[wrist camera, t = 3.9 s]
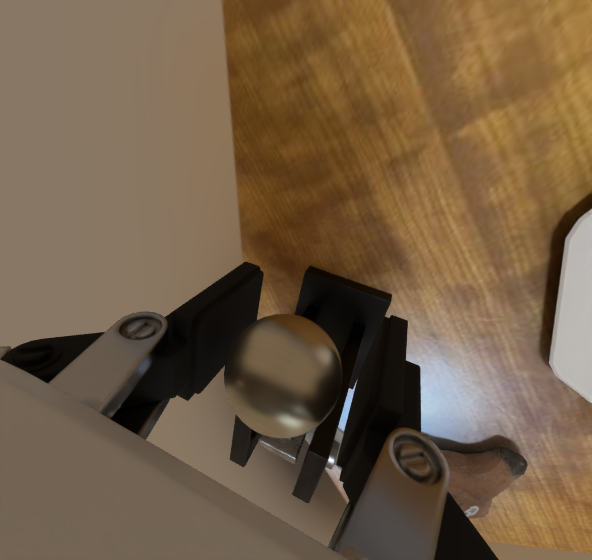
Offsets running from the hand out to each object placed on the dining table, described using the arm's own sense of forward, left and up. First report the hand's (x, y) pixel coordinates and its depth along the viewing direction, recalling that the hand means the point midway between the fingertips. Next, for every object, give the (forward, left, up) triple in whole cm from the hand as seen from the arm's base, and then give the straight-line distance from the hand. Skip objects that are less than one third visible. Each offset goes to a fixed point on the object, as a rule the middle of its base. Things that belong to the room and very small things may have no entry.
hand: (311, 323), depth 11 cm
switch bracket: (+8, -3, -13) cm, 16 cm away
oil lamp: (+22, +8, -13) cm, 26 cm away
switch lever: (+3, -1, -1) cm, 4 cm away
